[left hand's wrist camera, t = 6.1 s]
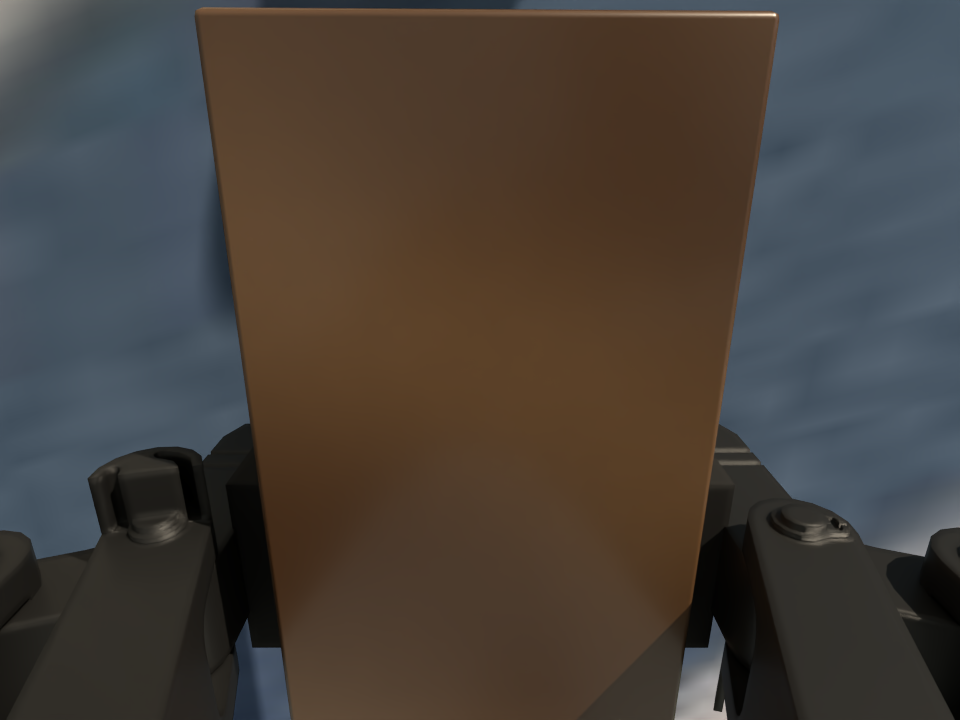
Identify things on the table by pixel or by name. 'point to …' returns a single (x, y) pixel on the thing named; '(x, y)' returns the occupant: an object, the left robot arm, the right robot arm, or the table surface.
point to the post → (484, 339)
